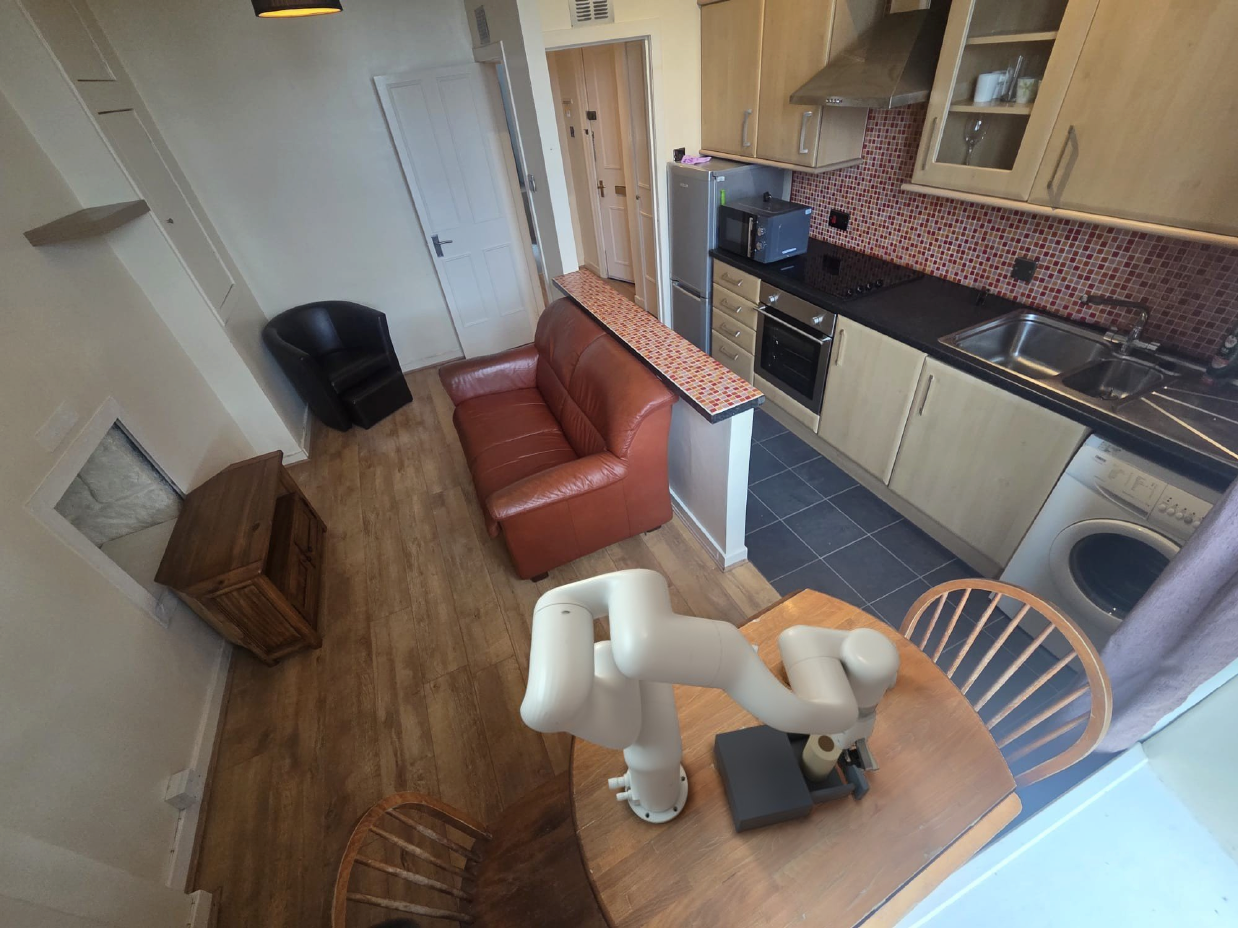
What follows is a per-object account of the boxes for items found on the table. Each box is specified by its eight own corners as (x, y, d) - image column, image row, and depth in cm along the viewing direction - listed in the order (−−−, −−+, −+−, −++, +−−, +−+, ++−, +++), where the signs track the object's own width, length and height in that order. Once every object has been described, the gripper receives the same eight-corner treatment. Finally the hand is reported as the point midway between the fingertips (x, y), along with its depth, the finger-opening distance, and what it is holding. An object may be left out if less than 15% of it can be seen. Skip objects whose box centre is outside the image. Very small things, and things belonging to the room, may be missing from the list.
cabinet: (775, 736, 108) (781, 720, 102) (806, 817, 97) (814, 803, 91) (713, 749, 107) (715, 734, 101) (736, 832, 96) (740, 820, 90)
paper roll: (806, 785, 99) (818, 763, 90) (794, 754, 103) (804, 730, 95) (834, 779, 99) (848, 756, 91) (820, 748, 103) (833, 724, 95)
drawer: (848, 722, 108) (855, 709, 103) (882, 794, 98) (892, 783, 93) (771, 739, 106) (775, 726, 102) (798, 813, 96) (804, 803, 92)
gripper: (805, 641, 84) (791, 686, 95) (859, 753, 71) (835, 791, 82) (848, 631, 84) (829, 678, 96) (910, 742, 71) (879, 781, 83)
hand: (832, 730), depth 89 cm, fingers open, 9 cm apart
